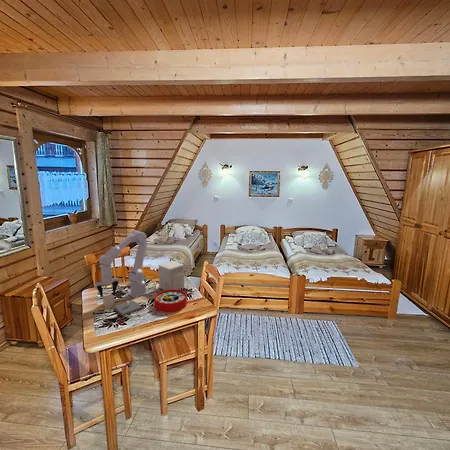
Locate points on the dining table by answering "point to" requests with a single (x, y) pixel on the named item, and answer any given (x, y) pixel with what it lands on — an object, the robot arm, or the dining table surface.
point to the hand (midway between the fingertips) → (108, 294)
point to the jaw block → (108, 299)
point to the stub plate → (127, 308)
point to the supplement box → (171, 276)
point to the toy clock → (170, 300)
